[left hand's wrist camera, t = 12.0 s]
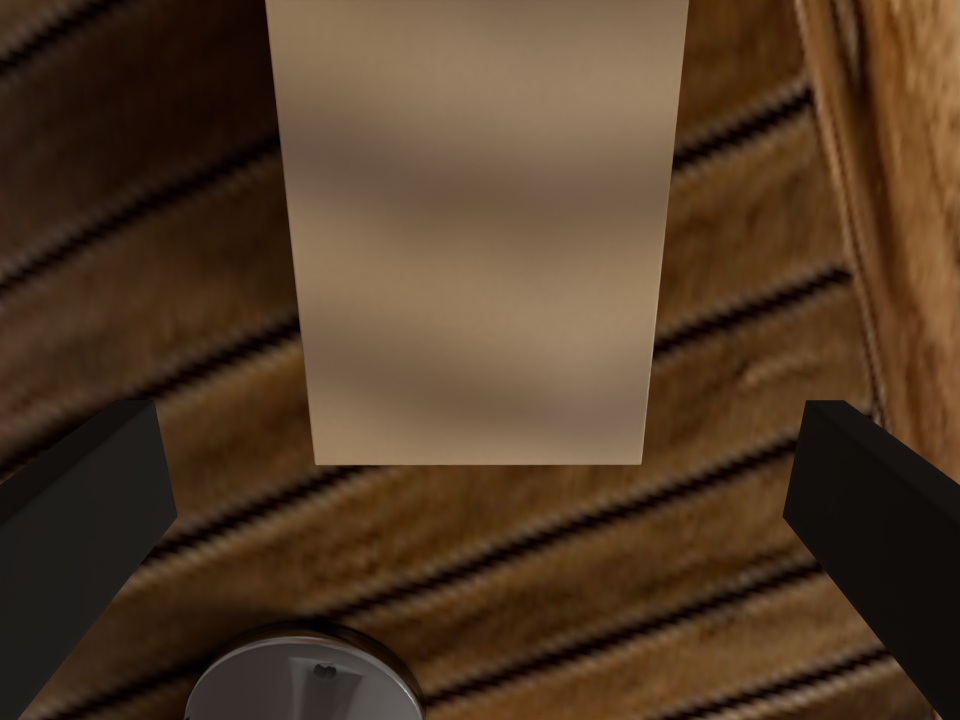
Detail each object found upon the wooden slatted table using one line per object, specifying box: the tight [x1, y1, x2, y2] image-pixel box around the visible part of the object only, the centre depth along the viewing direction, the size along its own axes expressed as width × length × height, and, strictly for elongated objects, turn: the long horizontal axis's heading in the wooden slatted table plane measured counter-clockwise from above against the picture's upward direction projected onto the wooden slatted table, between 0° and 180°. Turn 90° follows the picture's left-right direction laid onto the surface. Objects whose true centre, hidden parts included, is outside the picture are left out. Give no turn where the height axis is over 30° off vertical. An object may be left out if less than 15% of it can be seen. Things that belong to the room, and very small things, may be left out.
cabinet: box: [265, 0, 689, 465], centre depth 23 cm, size 19×11×12 cm, turn 0°
